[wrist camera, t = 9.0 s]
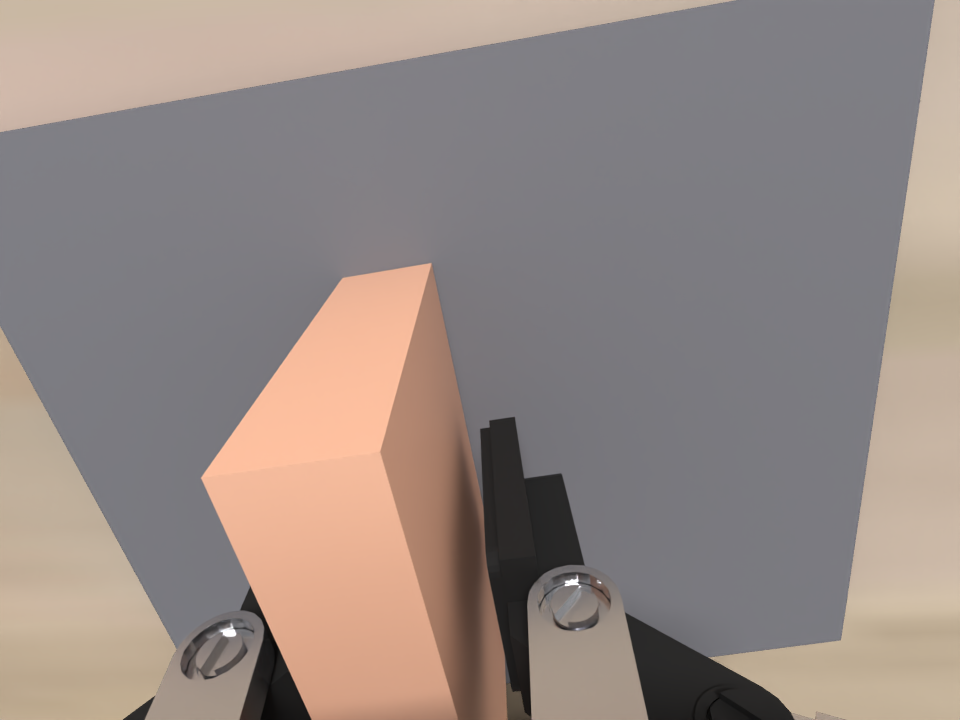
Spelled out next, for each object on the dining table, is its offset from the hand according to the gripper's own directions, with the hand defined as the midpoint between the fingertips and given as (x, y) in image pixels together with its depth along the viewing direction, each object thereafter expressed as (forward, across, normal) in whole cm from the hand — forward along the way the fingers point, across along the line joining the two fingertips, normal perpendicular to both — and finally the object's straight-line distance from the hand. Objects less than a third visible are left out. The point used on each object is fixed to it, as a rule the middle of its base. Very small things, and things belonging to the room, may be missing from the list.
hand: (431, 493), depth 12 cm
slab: (+1, 0, 0) cm, 1 cm away
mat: (+2, -1, 0) cm, 2 cm away
